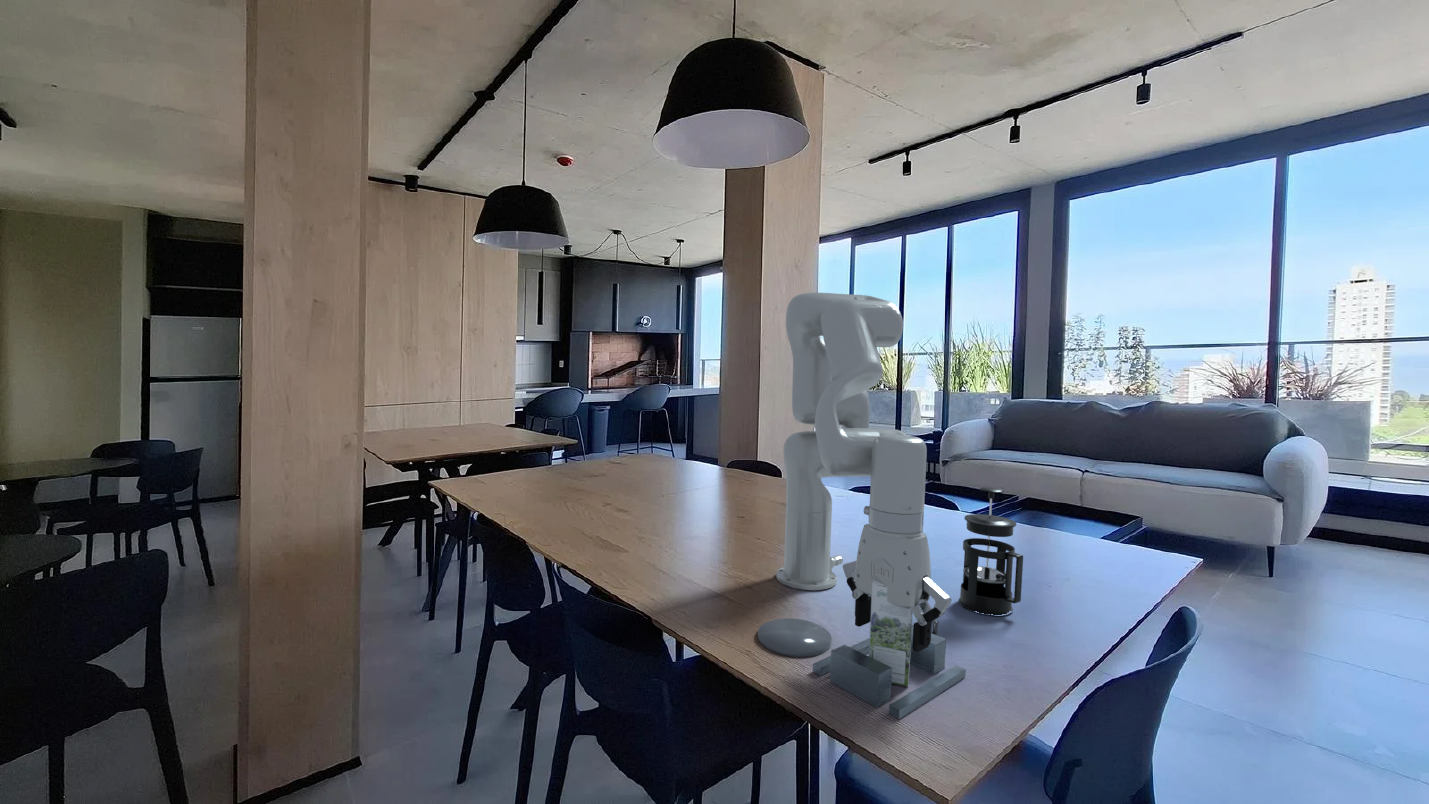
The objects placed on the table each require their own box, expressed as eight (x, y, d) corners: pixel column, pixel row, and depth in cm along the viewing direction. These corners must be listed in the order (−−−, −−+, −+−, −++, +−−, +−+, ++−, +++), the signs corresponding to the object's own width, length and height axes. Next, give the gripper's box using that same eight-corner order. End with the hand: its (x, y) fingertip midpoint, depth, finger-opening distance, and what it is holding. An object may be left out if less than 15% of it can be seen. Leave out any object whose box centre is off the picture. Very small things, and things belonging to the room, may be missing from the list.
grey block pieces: (896, 632, 98) (897, 605, 98) (979, 668, 87) (981, 637, 87) (812, 671, 85) (813, 640, 85) (899, 719, 74) (900, 684, 73)
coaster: (792, 617, 104) (792, 612, 104) (846, 642, 94) (846, 637, 94) (742, 635, 96) (743, 630, 96) (796, 665, 87) (796, 659, 87)
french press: (945, 600, 113) (951, 484, 112) (975, 592, 118) (981, 481, 117) (1002, 624, 103) (1009, 497, 102) (1031, 613, 108) (1039, 492, 107)
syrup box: (909, 668, 87) (913, 574, 86) (909, 689, 81) (913, 587, 80) (870, 661, 88) (874, 568, 88) (867, 680, 83) (871, 582, 82)
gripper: (831, 511, 88) (827, 621, 89) (937, 539, 74) (931, 668, 75) (862, 505, 92) (857, 609, 93) (966, 530, 79) (960, 652, 80)
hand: (890, 635), depth 84 cm, fingers open, 9 cm apart
